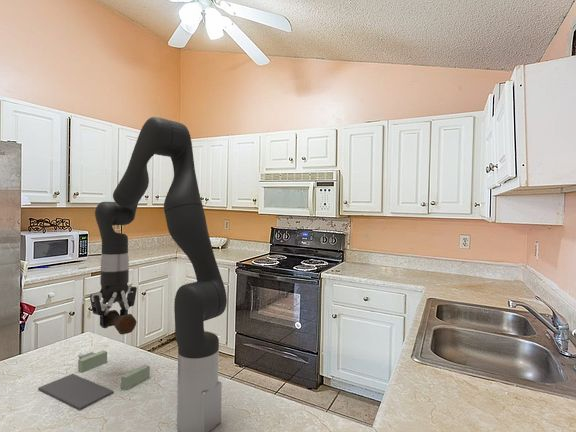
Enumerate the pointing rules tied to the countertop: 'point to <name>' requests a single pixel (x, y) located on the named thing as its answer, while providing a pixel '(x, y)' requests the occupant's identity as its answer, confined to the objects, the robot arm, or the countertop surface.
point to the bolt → (121, 322)
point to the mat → (76, 391)
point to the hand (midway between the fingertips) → (114, 324)
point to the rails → (100, 358)
